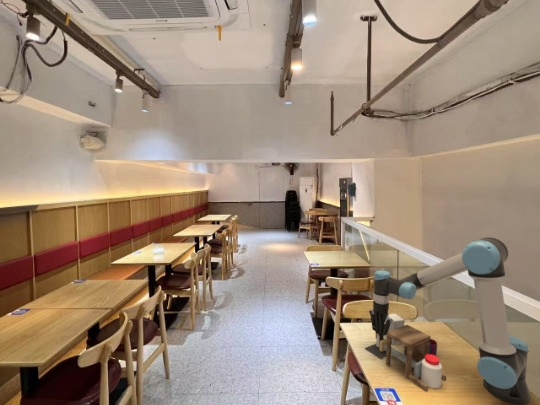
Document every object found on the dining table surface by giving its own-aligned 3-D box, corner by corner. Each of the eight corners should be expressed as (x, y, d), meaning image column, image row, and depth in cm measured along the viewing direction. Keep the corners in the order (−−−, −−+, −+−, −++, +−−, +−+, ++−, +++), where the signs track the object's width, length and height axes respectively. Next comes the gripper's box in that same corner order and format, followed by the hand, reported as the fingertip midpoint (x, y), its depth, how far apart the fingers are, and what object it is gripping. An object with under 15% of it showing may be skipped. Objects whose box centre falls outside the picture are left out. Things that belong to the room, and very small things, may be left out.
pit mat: (396, 352, 150) (396, 351, 150) (380, 359, 144) (380, 358, 144) (380, 342, 159) (380, 341, 159) (364, 348, 153) (364, 348, 153)
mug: (438, 359, 144) (439, 346, 144) (416, 357, 146) (417, 343, 146) (433, 351, 151) (434, 338, 150) (412, 349, 153) (413, 336, 152)
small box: (403, 343, 158) (405, 320, 156) (393, 345, 156) (394, 321, 155) (394, 335, 166) (395, 313, 164) (384, 336, 164) (385, 314, 163)
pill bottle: (440, 390, 123) (442, 365, 122) (419, 383, 127) (421, 359, 126) (441, 380, 130) (443, 356, 129) (421, 373, 134) (423, 350, 133)
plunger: (428, 372, 134) (429, 358, 133) (416, 379, 130) (416, 365, 129) (388, 348, 153) (389, 336, 152) (376, 353, 148) (377, 341, 148)
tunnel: (446, 379, 130) (448, 344, 128) (425, 391, 123) (427, 354, 121) (405, 355, 147) (407, 324, 146) (385, 364, 140) (387, 332, 139)
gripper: (397, 304, 146) (394, 350, 148) (375, 295, 157) (374, 337, 160) (386, 308, 143) (384, 354, 145) (365, 298, 154) (364, 341, 156)
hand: (379, 345), depth 152 cm, fingers closed
